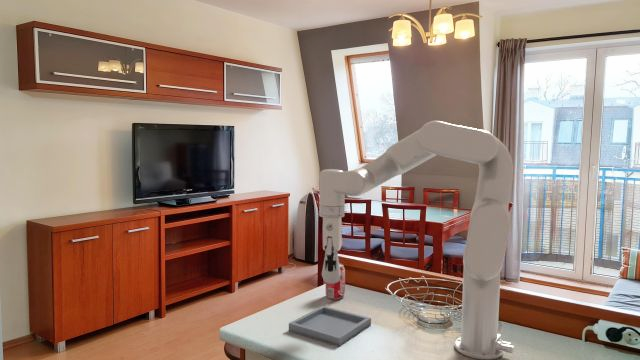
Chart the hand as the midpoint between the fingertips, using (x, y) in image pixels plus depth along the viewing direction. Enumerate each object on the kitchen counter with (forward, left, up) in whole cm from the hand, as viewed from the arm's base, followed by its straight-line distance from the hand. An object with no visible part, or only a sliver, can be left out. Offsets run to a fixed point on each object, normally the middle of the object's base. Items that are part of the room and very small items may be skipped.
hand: (331, 270), depth 142 cm
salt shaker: (0, 0, -3) cm, 3 cm away
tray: (0, 0, -18) cm, 18 cm away
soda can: (+14, -24, -18) cm, 33 cm away
